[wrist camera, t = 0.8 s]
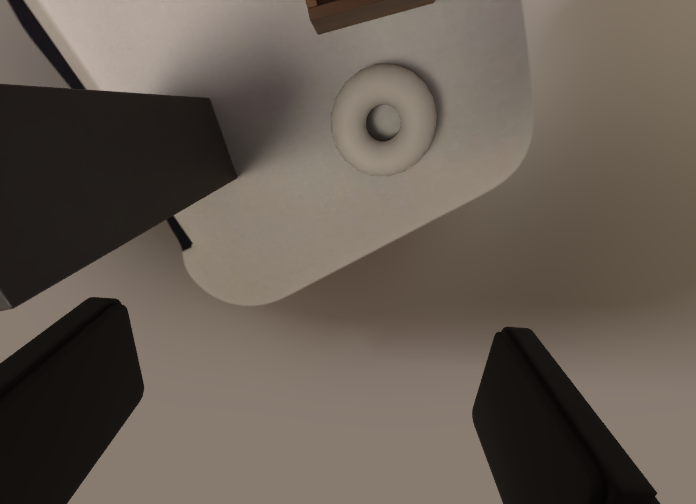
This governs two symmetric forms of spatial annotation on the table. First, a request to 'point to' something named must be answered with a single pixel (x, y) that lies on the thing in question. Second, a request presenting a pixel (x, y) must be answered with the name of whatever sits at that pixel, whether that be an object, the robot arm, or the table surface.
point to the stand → (95, 176)
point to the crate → (354, 11)
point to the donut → (371, 91)
